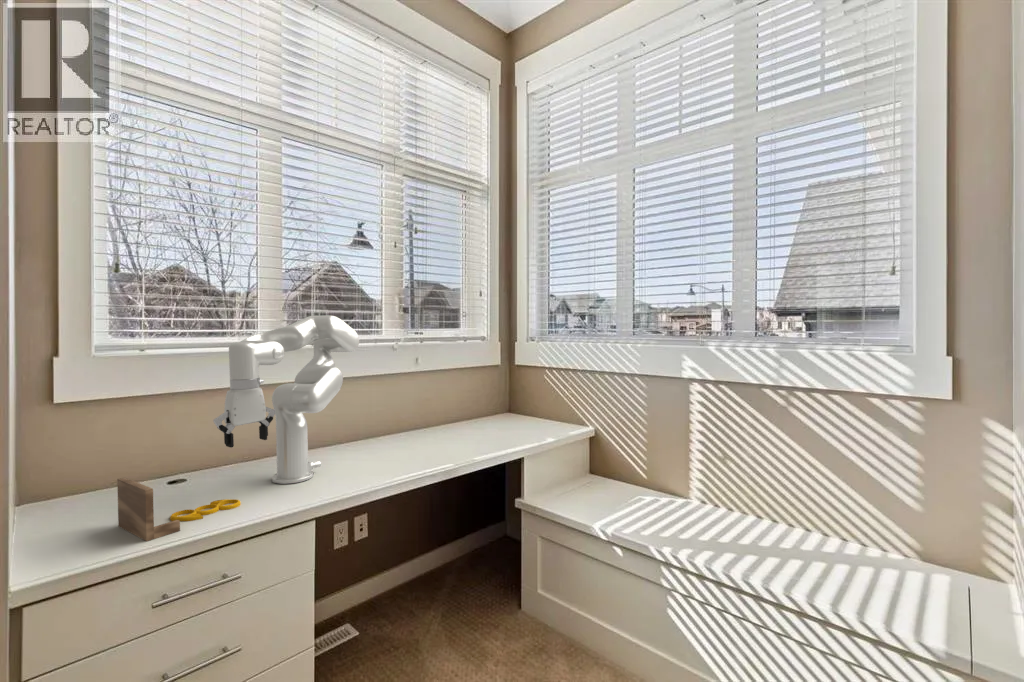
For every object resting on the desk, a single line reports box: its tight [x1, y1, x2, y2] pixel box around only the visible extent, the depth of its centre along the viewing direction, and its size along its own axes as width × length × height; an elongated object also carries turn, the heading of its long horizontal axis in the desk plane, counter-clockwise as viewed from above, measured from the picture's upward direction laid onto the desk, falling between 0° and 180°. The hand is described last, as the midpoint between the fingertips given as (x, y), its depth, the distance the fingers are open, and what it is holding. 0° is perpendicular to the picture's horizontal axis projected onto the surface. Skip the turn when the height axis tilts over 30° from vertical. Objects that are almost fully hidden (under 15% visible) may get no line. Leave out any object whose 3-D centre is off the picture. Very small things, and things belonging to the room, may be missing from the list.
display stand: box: [116, 477, 181, 542], centre depth 120 cm, size 7×16×12 cm, turn 57°
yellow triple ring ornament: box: [169, 498, 242, 522], centre depth 132 cm, size 17×2×10 cm
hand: (247, 442), depth 141 cm, fingers open, 9 cm apart
